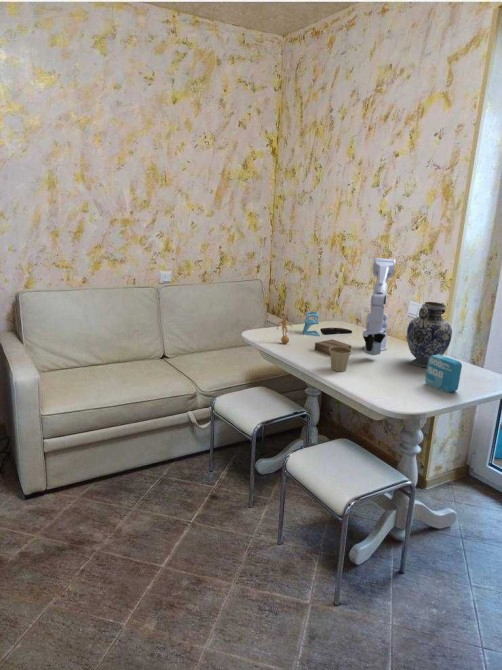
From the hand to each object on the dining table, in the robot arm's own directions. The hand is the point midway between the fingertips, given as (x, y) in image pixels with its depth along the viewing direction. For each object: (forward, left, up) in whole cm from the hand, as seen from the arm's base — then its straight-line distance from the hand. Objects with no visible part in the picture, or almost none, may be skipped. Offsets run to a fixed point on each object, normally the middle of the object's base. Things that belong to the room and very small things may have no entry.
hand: (372, 349), depth 217 cm
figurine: (+17, -40, -5) cm, 44 cm away
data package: (+5, +37, -5) cm, 38 cm away
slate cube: (0, 0, -2) cm, 2 cm away
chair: (-8, -46, -5) cm, 47 cm away
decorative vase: (-16, +17, -5) cm, 24 cm away
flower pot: (+24, +1, -5) cm, 25 cm away
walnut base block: (+6, -18, -5) cm, 20 cm away
